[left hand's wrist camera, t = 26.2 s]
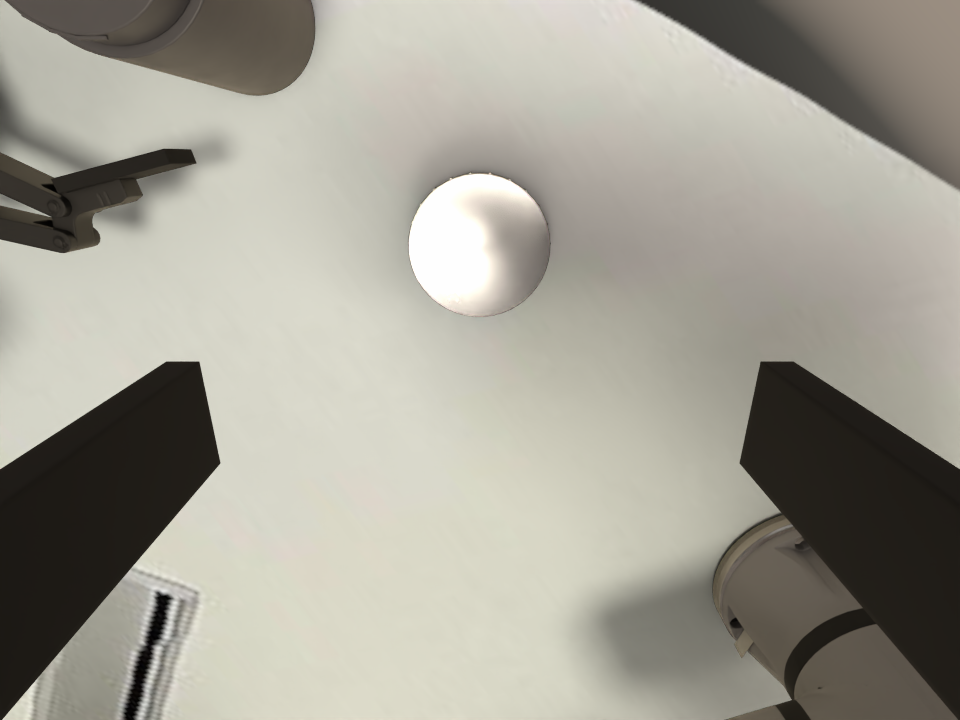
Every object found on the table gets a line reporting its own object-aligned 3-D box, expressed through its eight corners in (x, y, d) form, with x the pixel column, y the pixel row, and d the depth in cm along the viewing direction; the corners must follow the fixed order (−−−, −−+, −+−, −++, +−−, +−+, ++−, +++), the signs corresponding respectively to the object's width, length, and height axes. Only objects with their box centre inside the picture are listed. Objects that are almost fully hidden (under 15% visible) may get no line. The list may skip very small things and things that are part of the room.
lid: (474, 334, 39) (474, 344, 37) (383, 239, 36) (377, 243, 34) (574, 248, 36) (580, 253, 34) (484, 139, 34) (484, 138, 32)
